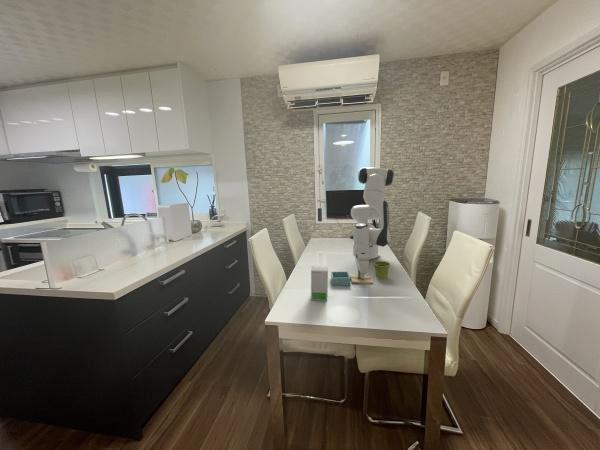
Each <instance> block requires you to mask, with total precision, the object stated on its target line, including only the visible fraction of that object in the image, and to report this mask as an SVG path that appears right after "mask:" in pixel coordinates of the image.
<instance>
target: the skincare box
mask: <svg viewBox="0 0 600 450" xmlns="http://www.w3.org/2000/svg"><path fill="white" fill-rule="evenodd" d="M310 272H311V273H310V282H311V283H310V300H311V301H320V302H328V295H329V293H328V291H329V288H328V284H329V278H328V277H329V267H328V266H317V265H316V266H315V265H314V266H311V270H310Z"/></svg>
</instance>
